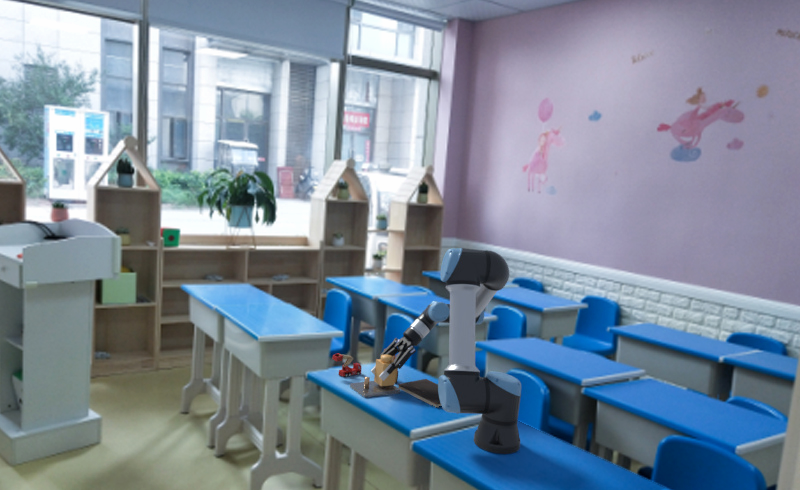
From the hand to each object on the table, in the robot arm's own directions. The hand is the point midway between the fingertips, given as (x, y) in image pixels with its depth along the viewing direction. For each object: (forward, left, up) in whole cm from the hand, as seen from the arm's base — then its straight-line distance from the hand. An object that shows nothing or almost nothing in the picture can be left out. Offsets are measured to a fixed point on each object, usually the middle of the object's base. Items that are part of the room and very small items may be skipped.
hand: (377, 375), depth 240 cm
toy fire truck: (+19, +3, -6) cm, 20 cm away
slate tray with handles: (0, 0, -6) cm, 6 cm away
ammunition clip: (+10, -12, -6) cm, 16 cm away
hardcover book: (-11, -19, -7) cm, 23 cm away
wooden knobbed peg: (0, -4, -3) cm, 5 cm away
